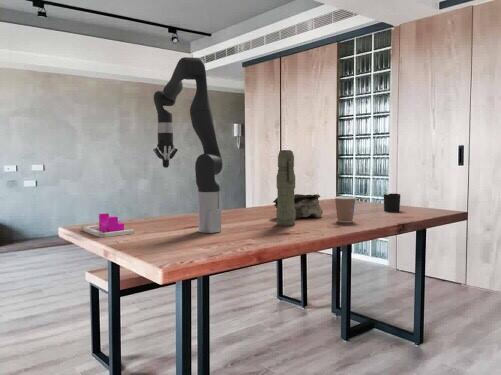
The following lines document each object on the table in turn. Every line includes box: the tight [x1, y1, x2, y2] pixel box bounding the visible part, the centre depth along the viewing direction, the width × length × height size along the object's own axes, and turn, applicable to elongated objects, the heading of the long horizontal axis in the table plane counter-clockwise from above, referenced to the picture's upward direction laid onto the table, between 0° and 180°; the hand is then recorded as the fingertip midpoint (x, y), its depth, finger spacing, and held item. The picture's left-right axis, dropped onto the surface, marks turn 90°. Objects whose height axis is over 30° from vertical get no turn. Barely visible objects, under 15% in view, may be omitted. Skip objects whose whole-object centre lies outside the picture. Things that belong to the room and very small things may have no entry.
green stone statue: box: [275, 149, 296, 227], centre depth 197 cm, size 9×12×35 cm
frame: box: [81, 224, 135, 239], centre depth 181 cm, size 23×14×2 cm, turn 39°
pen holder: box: [383, 193, 401, 213], centre depth 248 cm, size 9×9×10 cm
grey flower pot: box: [334, 195, 357, 223], centre depth 207 cm, size 10×10×12 cm
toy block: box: [98, 212, 125, 233], centre depth 180 cm, size 15×6×8 cm, turn 34°
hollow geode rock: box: [272, 193, 324, 219], centre depth 220 cm, size 28×13×15 cm
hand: (165, 167), depth 208 cm, fingers closed
